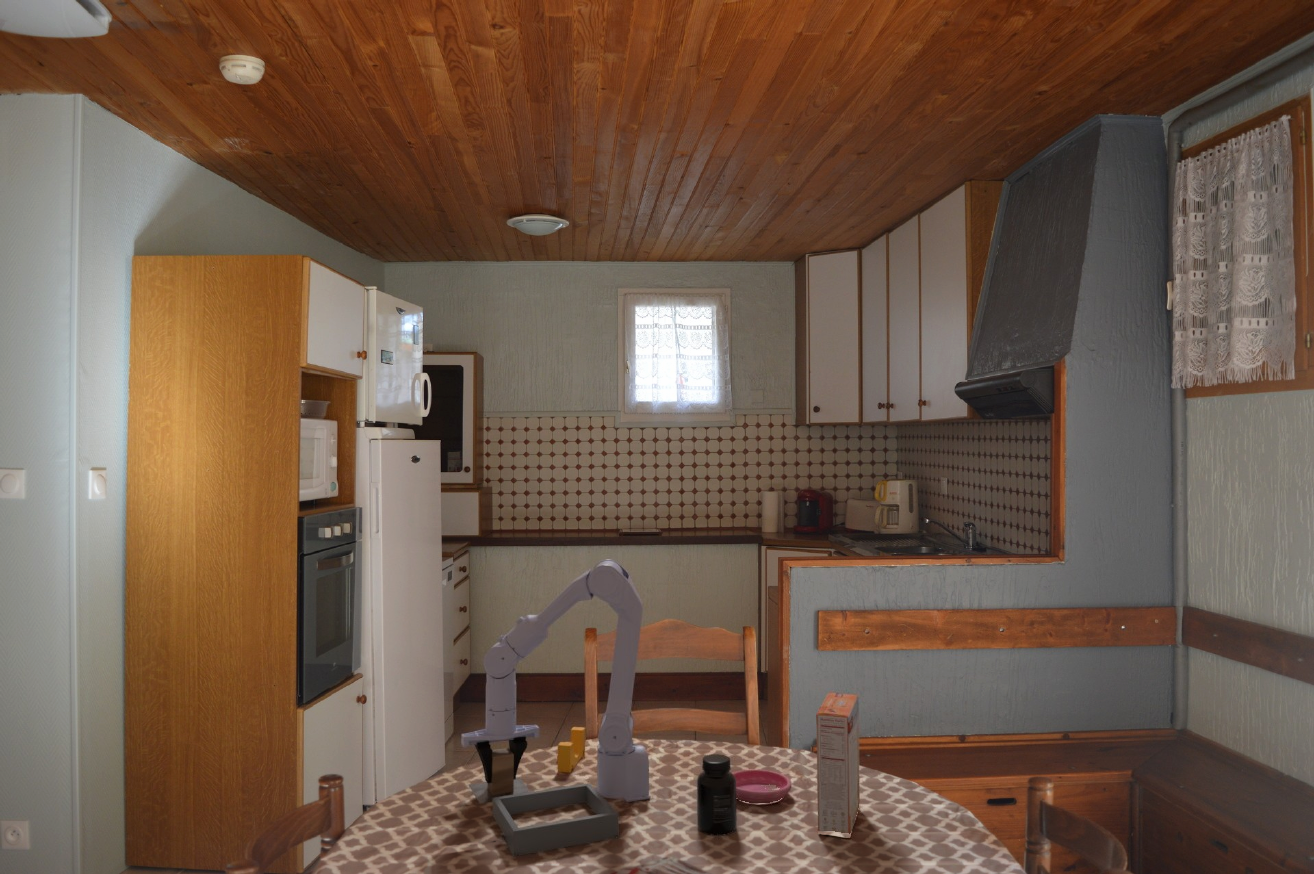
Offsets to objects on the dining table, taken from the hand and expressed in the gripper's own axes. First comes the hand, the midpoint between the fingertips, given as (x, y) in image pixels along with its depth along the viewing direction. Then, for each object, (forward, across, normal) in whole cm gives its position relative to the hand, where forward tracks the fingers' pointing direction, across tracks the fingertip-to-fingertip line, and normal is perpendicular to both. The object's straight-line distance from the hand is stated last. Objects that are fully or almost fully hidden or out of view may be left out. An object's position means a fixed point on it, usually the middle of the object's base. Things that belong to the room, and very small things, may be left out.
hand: (500, 779), depth 167 cm
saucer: (+3, -45, +19) cm, 49 cm away
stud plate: (+3, 0, 0) cm, 3 cm away
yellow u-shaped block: (+3, -16, -10) cm, 19 cm away
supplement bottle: (+3, -31, +29) cm, 43 cm away
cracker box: (+3, -52, +35) cm, 63 cm away
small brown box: (+2, 0, 0) cm, 2 cm away
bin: (+3, -5, +18) cm, 19 cm away
